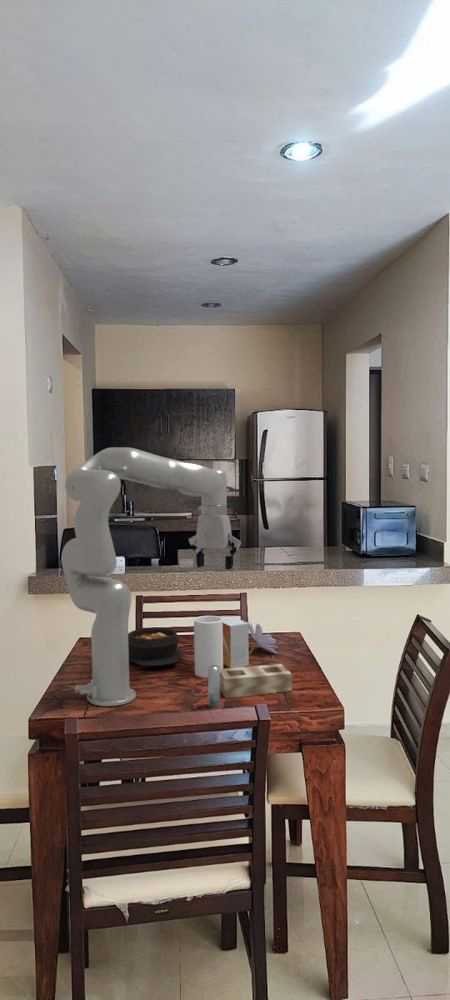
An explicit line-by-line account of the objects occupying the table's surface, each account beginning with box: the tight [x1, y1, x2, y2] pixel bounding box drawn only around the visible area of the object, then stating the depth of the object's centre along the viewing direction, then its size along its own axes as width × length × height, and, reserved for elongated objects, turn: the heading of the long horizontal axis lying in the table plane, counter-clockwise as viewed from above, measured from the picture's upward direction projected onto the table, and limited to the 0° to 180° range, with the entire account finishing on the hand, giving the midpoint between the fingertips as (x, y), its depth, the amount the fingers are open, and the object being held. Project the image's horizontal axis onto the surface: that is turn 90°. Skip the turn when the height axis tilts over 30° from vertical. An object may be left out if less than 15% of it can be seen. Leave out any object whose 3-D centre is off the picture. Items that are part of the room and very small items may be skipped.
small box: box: [222, 617, 250, 668], centre depth 221 cm, size 8×6×13 cm
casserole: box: [128, 627, 184, 667], centre depth 226 cm, size 25×19×8 cm
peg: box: [207, 665, 221, 709], centre depth 186 cm, size 3×3×10 cm
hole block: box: [220, 663, 293, 699], centre depth 198 cm, size 18×9×5 cm, turn 103°
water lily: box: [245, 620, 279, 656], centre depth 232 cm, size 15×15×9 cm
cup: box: [193, 615, 224, 679], centre depth 212 cm, size 8×8×16 cm
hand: (214, 567), depth 220 cm, fingers open, 9 cm apart
